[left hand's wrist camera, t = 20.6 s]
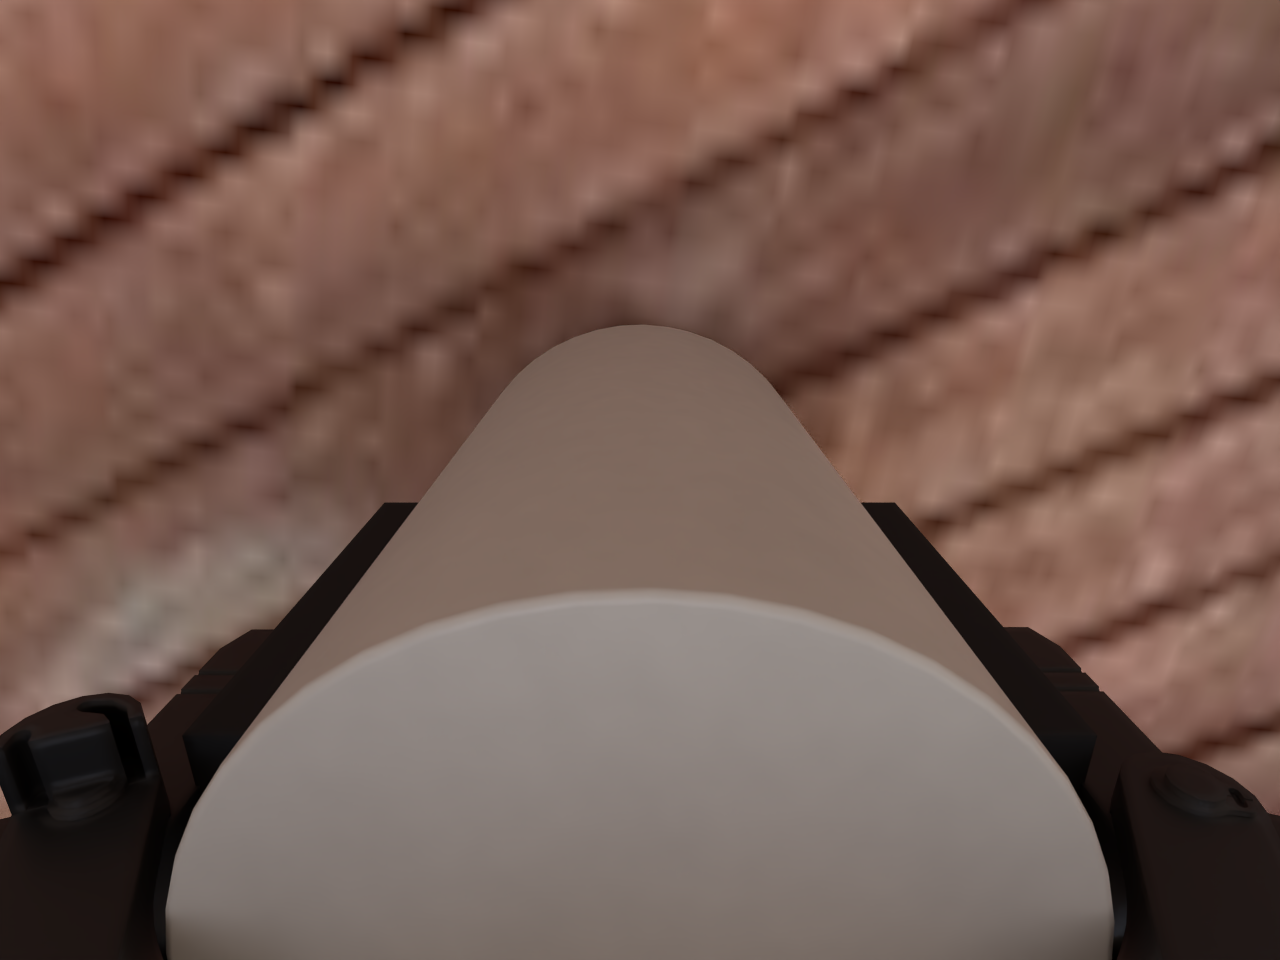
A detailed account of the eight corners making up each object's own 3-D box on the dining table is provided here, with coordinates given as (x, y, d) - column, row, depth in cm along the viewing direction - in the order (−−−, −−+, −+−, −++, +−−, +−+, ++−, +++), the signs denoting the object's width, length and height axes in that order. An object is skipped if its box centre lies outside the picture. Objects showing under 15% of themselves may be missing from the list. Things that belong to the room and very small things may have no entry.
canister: (857, 549, 19) (1224, 1121, 7) (581, 680, 20) (499, 1337, 8) (712, 256, 16) (904, 378, 4) (407, 428, 17) (-60, 868, 6)
